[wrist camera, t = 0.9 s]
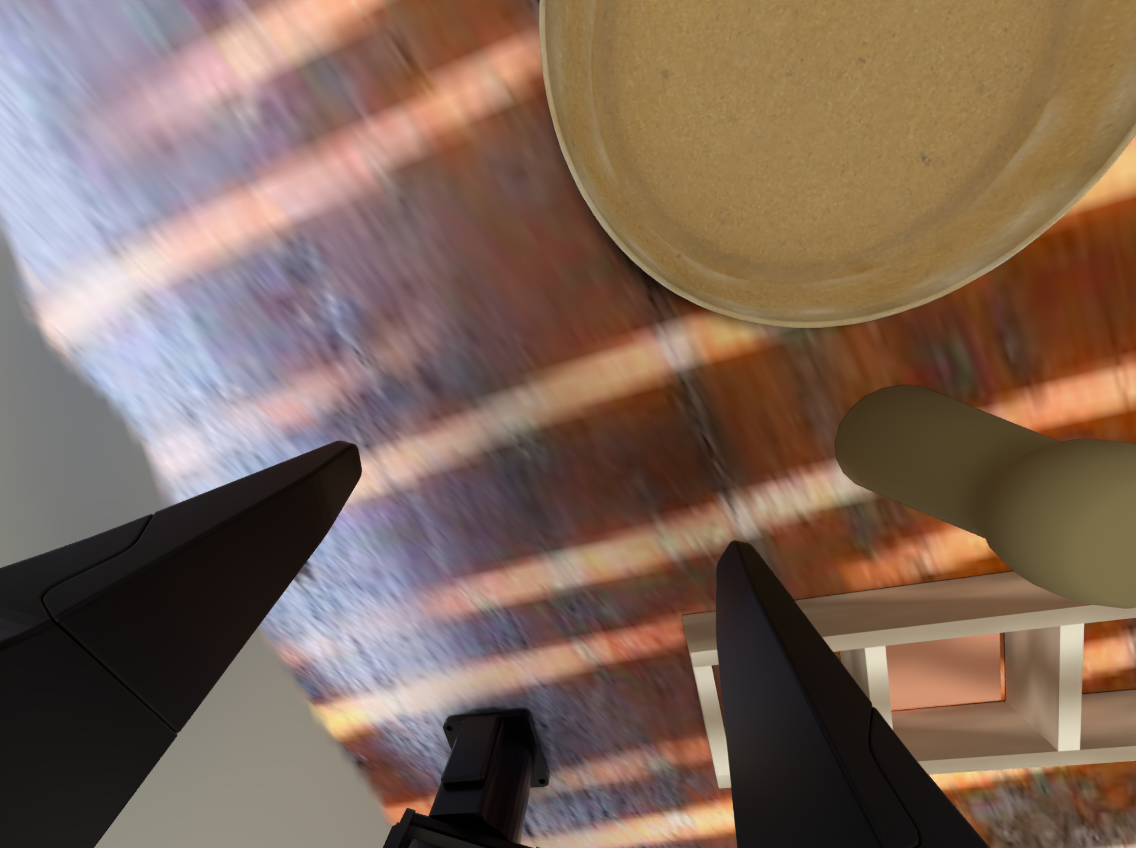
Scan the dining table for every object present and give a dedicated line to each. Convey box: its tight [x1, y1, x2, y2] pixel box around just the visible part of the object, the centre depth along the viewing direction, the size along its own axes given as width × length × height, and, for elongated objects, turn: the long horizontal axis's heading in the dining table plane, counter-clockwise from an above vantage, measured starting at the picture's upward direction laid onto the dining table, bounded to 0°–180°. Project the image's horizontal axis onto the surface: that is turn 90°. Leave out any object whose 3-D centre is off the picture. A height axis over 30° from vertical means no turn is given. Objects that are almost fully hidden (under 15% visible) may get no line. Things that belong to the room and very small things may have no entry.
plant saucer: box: [539, 0, 1136, 328], centre depth 17 cm, size 24×24×3 cm
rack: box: [682, 571, 1136, 788], centre depth 23 cm, size 10×28×3 cm, turn 104°
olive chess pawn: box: [835, 385, 1136, 609], centre depth 16 cm, size 6×6×11 cm
